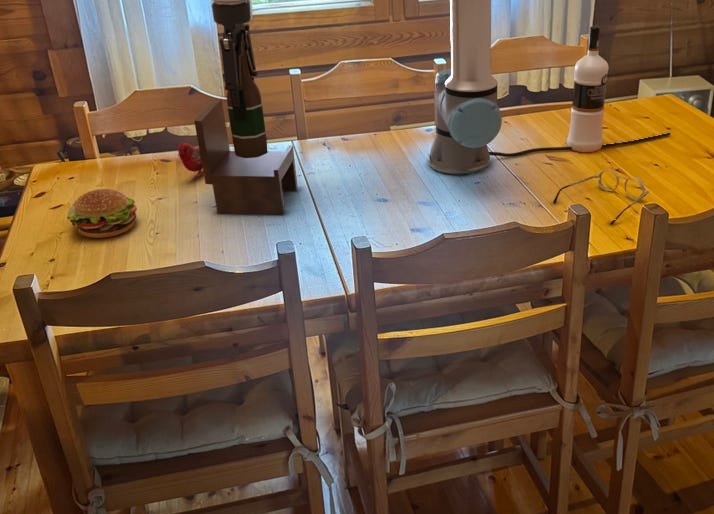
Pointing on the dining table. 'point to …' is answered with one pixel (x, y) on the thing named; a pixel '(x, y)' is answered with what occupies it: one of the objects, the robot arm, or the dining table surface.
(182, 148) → the decorative bird figurine
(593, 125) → the vodka
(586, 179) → the eyeglasses
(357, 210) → the dining table surface
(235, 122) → the beer bottle
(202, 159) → the shelf stand
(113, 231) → the food
